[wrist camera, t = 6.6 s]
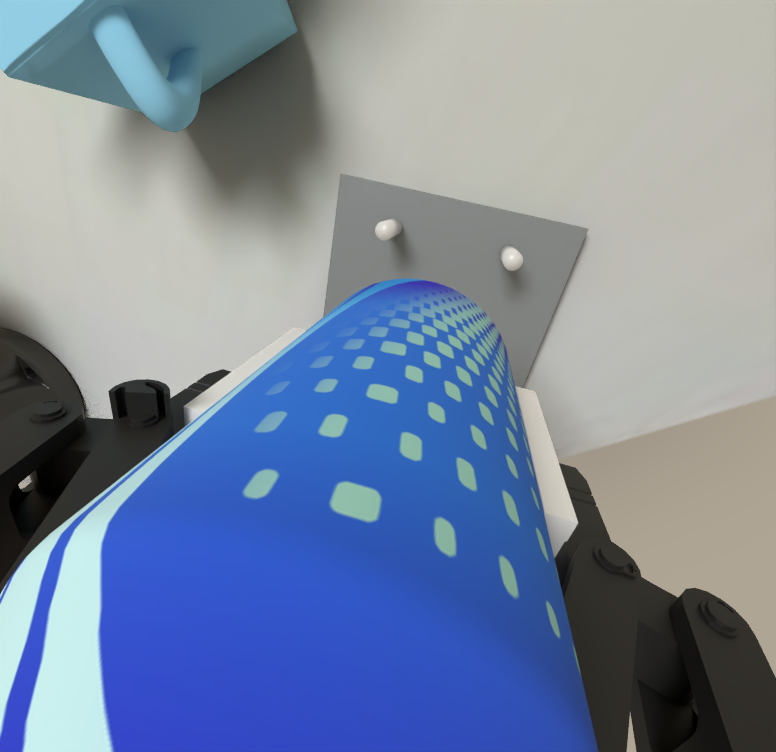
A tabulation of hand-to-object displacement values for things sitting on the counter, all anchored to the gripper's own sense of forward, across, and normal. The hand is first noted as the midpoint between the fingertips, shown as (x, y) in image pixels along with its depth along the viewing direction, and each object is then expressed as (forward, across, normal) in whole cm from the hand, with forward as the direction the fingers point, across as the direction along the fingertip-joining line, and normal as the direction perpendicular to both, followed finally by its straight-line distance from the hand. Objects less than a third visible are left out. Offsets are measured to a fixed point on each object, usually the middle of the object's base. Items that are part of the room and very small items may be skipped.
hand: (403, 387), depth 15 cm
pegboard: (+18, 0, 0) cm, 18 cm away
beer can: (+3, 0, 0) cm, 3 cm away
